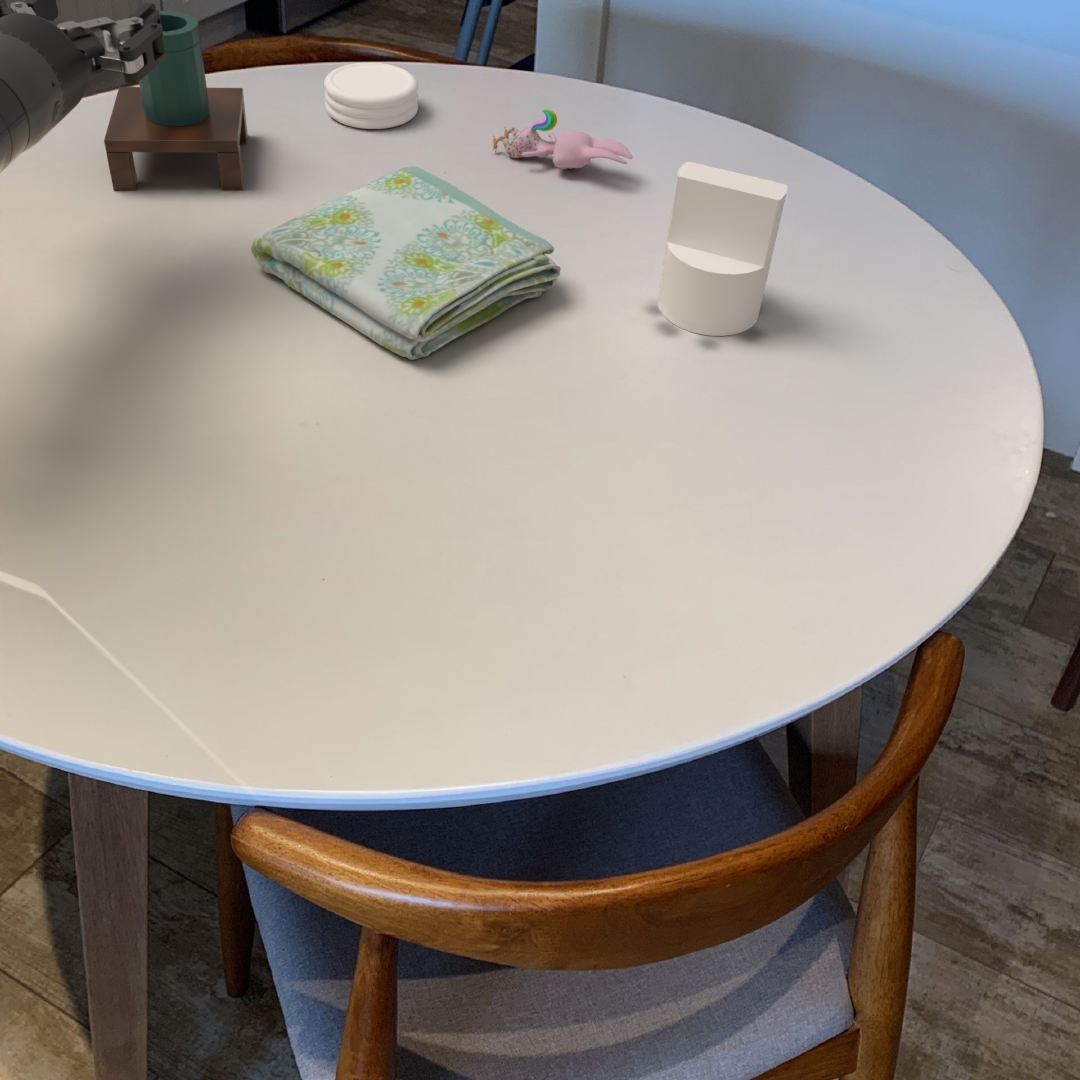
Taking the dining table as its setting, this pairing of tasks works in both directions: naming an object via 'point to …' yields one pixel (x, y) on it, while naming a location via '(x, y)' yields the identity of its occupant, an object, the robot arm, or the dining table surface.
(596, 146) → the rabbit figure
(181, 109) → the jar
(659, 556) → the dining table surface
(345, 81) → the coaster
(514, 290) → the towel
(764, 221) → the base with upright slab
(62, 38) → the robot arm
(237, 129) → the stand
